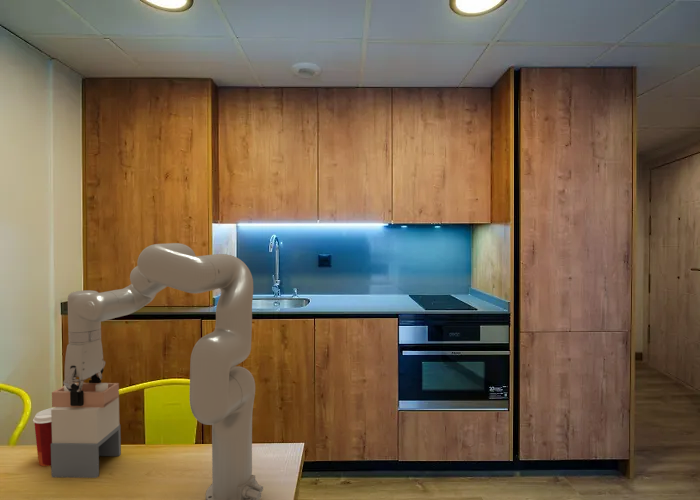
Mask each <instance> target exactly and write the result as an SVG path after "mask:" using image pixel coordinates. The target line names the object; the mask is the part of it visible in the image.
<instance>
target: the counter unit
mask: <svg viewBox="0 0 700 500" xmlns="http://www.w3.org/2000/svg"><path fill="white" fill-rule="evenodd" d="M52 408H53V409H52V410H51V420H52V444H51V465H50V467H51V472H50V473H51V478H85V479H86V478H88V479H89V478H90V479H93V478H95V479H98V477H99V476H100V459H99V457H120V456H121V455H122V448H121V447H122V445H121V442H122V438H121V437H122V436H121V435H122V434H121V424H120V396H119V397H118V398H117V399H115V400H114V401H113V402H111V403H110V404H108V405H107V406H106V407H104V408H100V407H52Z"/></svg>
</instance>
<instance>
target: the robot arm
mask: <svg viewBox="0 0 700 500" xmlns="http://www.w3.org/2000/svg"><path fill="white" fill-rule="evenodd" d="M136 264H137V265H136V266H135V267H134V268H133V269H131V272H130V274H129V280H130V284H129V285H128V286H125V287H124V288H121V289H120V288H119V289H113V290H108V291H103V292H99V291H97V290H90V289H88V290H85V289H84V290H77V291H73V292H70V293H69V294H68V297H67V324H68V325H67V326H68V330H67V331H68V333H67V335H68V344H67V346H66V351H65V358H64V359H65V361H64V380H63V382H62V383H63V386H64V385H65V386H66V388H67V389H68V391H69V392H70V405H71V406H82V405H83V404H84V399H83V391H81V390H82V386H83V383H85V381H86V380H88V379H89V380H88V383H102V379H103V373H104V368H105V366H106V360H104V352H103V351H104V350H103V343H102V323H101V322H105V321H109V320H113V319H115V318H116V319H117V318H121V317H124V316H128V315H132V314H133V313H135V312H137V311H140V310H141V309H142V308H143V307H145V306H148V304H150V303H152V301H153V300H154V299H155V297H156V296H157V294H158V293H159V292H161V291H162V290H164V289H166V288H167V287H168V288H172V289H175V290H178V291H182V292H184V293H189V294H203V293H206V292H210V291H211V292H212V291H215V290H220V291H221V293H220V295H219V297H218V301H217V304H216V308H215V327H214V330H213V331H212V332H210V333H206V334H205V335H204V336H202V337H200V338H199V339H198V341H196V343H195V345H194V346H193V348H192V351H191V354H190V359H189V360H190V364H189V367H190V368H189V406H190V410H191V413H192V415H193V417H194V418H195V420H197V421H198V422H199V423H201V424H202V425H208V426H211V447H212V448H211V463H212V468H211V469H212V470H211V472H212V473H211V474H212V475H211V476H212V479H211V481H212V484H210V485H209V486H208V488H207V490H206V492H205V500H261V497H262V492H263V490H264V486H263V485H261V484H259V483H258V481H257V480H256V475H254V474H253V411H254V410H253V409H254V402H255V397H256V396H255V395H256V381H255V378H254V376H253V374H252V372H250V370H248V369H247V368H246V367H243V366H238V365H239V364H241V363H243V362H244V361H245V360H247V359H248V358H249V355H250V354H251V351H252V333H253V332H252V331H253V330H252V329H253V299H254V279H253V275H252V272H251V270H250V268H249V267H248V266H247V265H246V263H245V262H244V261H242V259H240V258H239V257H236V256H235V255H232V254H225V253H216V254H215V253H214V254H207V255H196V254H195V251H194V250H193V248H191V247H190V246H188V245H186V244H185V243H179V242H177V243H176V242H171V243H170V242H169V243H155V244H151V245H148V246H147V247H145V248H144V249H143V250H142V251H141V252H140V254H139V255H138V258H137V263H136ZM75 383H78V386H77V385H76V384H75Z"/></svg>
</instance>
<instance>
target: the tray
mask: <svg viewBox="0 0 700 500" xmlns="http://www.w3.org/2000/svg"><path fill="white" fill-rule="evenodd" d="M78 383H79V382H75V384H76V385H77V386H78ZM119 386H120V383H119V382H101V383H89V382H83V386H82V390H81V391H83V399H84V404H83V405H82V406H71V405H70V392H69V391H68V389H67V388H66V386H65V385H64V384H63V386H61V387H59V388H57V389H55V390H53V391H52V392H51V408H55V407H100V408H104V407H106V406H107V405H108V404H110V403H111V402H113V401H114V400H115V399H117V398H118V397H119V398H120V387H119Z"/></svg>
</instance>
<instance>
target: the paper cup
mask: <svg viewBox="0 0 700 500" xmlns="http://www.w3.org/2000/svg"><path fill="white" fill-rule="evenodd" d="M53 408H54V407H50V408H47V409H43V410H41V411H40V410H39V411H38V412H36V414H35V415H34V418H33V419H32V422H33V423H34V424H33V425H34V430H35V431H34V432H35V443H36V451H37V460H38V465H39V466H40V467H49V466H50V467H51V444H52V420H51V410H52V409H53Z"/></svg>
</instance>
